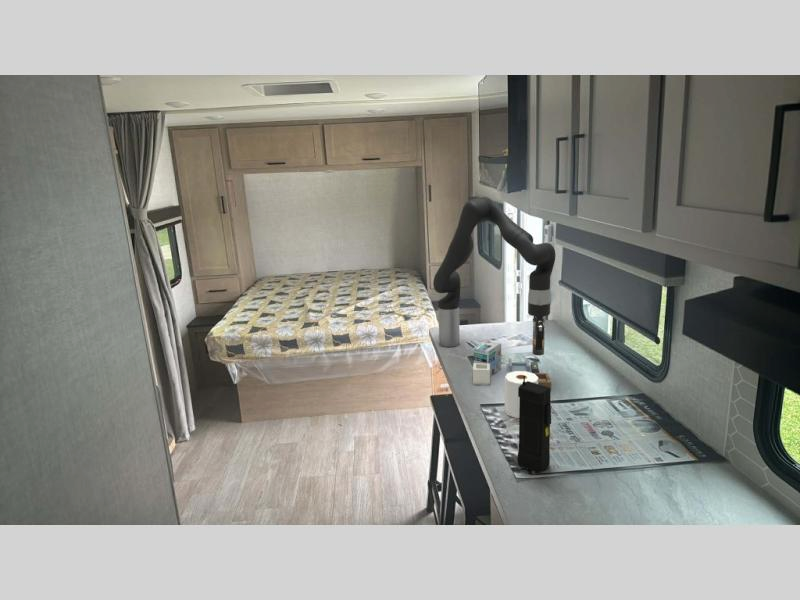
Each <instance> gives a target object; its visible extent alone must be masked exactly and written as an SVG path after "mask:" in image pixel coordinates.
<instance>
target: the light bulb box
mask: <svg viewBox="0 0 800 600" xmlns="http://www.w3.org/2000/svg"><path fill="white" fill-rule="evenodd" d="M473 363H484V364H490V377H491V376H493V375H494V374H496V373H497V372H499V371H500V370H501V369H502V343H501V342H497V341H490V340H485V341H483V342H481V343H480V344H479V345H476V346H475V347H473Z"/></svg>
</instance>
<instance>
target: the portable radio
mask: <svg viewBox="0 0 800 600" xmlns="http://www.w3.org/2000/svg"><path fill="white" fill-rule="evenodd" d="M523 377H524V380H523V384H521V385H520V386H519V388H518V397H520V406H519V418H518V419H519V420H518V421H519V422H518V423H519V424H518V427H519V428H518V429H519V430H518V451H517V466H519V465H520V466H519V467H522V466H523V467H522V468H524V467H525V468H524V469H526V468H528V469H527V470H529V471H531V472H533V471H534V472H533V473H535V474H539V473H542V472H543V471H544V470H545V469H546V467H547V468H548V467H549V466H550V465H551V461H550V460H551V459H550V457H551V456H550V455H551V454H550V451H551V450H550V448H551V447H550V440H551V439H550V436H551V424H552V405H551V398H552V397H551V391H552V390H551V389H552V387H551V388H549V387H546V386H543V385H539V384H536V383H533V382H529V381H527V382H525V376H523Z"/></svg>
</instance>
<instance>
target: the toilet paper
mask: <svg viewBox="0 0 800 600" xmlns="http://www.w3.org/2000/svg"><path fill="white" fill-rule="evenodd" d="M523 376H525V382H527V381H529V382H533V383H536V384H538V377H537V376H536V375H535V374H533V373H530V372H526V371H514V372H510V373H507V372H506V374H505V376H504V412H505V413H506V414H507V416H509V417H511V418H512V417H513V418H515V419H519V406H520V397H518V388H519V386H520V385H521V384H523V380H524V377H523Z"/></svg>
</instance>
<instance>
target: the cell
mask: <svg viewBox="0 0 800 600" xmlns="http://www.w3.org/2000/svg"><path fill="white" fill-rule="evenodd" d="M545 331H546V330H545V329H544V339H543V340H542V350H536V339H535V333H534V330H533V329H532V355H534V356H543V355H544V354H545V344H546V343H545V340H546V338H545V334H546V333H545ZM538 337H541V335H538Z"/></svg>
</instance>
